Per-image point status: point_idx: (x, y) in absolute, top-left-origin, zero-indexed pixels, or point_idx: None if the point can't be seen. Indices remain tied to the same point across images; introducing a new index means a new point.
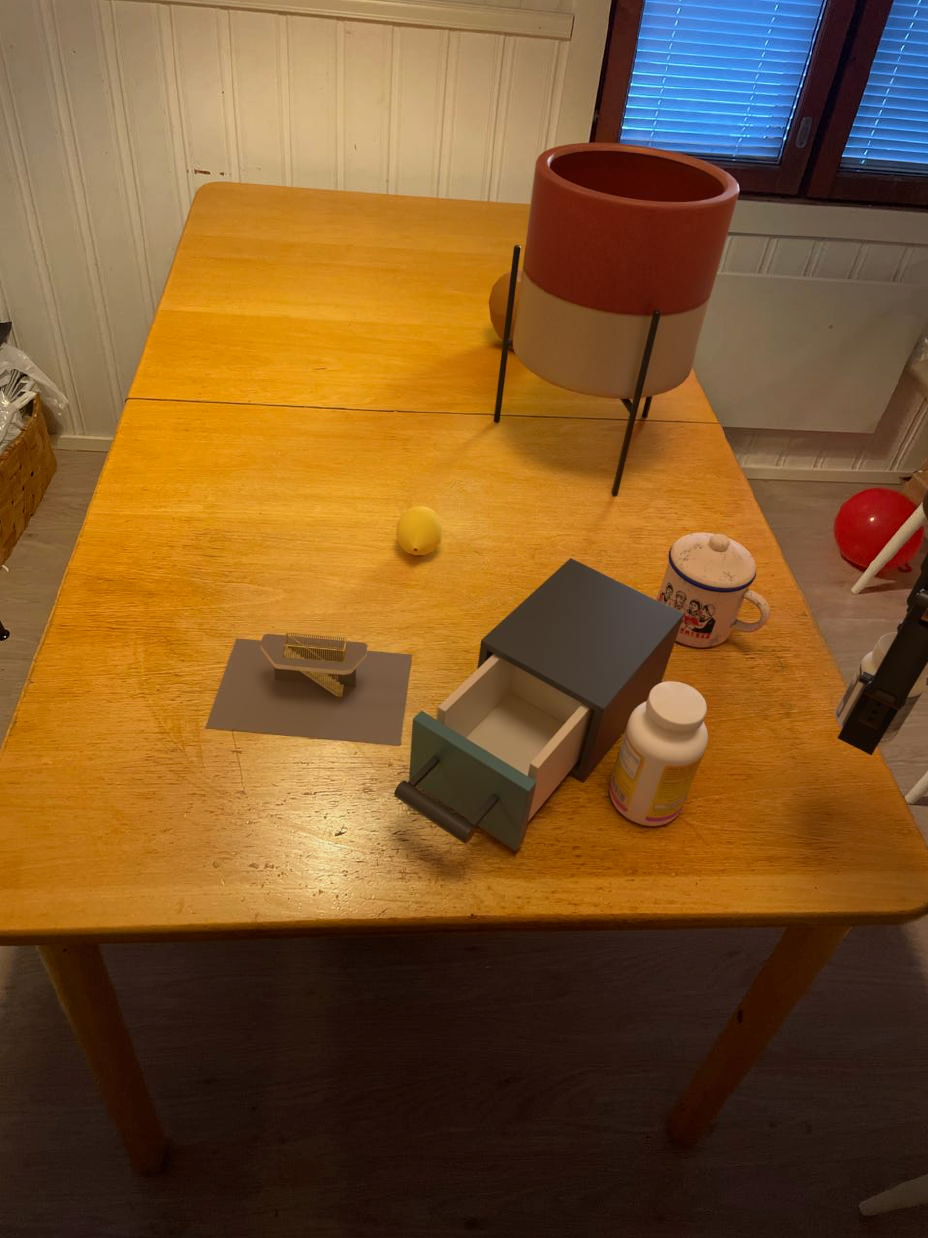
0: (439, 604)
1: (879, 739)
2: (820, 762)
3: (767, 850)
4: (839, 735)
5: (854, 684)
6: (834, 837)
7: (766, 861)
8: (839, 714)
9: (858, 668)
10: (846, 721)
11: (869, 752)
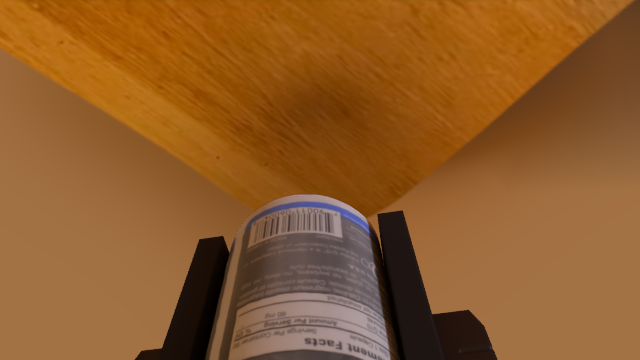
0: None
1: None
2: (438, 52)
3: (208, 84)
4: (196, 248)
5: (236, 317)
6: (313, 137)
7: (191, 93)
8: (248, 229)
9: (260, 343)
10: (184, 285)
11: None
